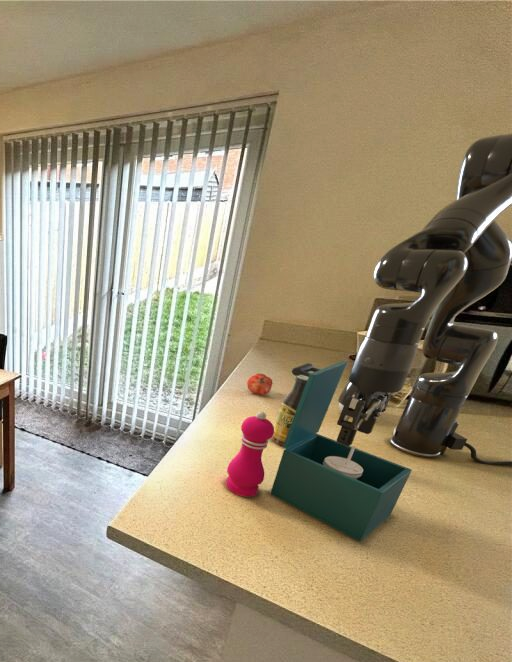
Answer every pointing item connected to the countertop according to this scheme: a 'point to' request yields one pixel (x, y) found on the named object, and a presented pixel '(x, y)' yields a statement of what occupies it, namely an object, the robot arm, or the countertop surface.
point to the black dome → (347, 394)
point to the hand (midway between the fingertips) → (353, 437)
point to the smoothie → (344, 465)
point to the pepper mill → (250, 456)
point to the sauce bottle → (288, 410)
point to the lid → (313, 400)
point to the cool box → (339, 486)
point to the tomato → (259, 384)
